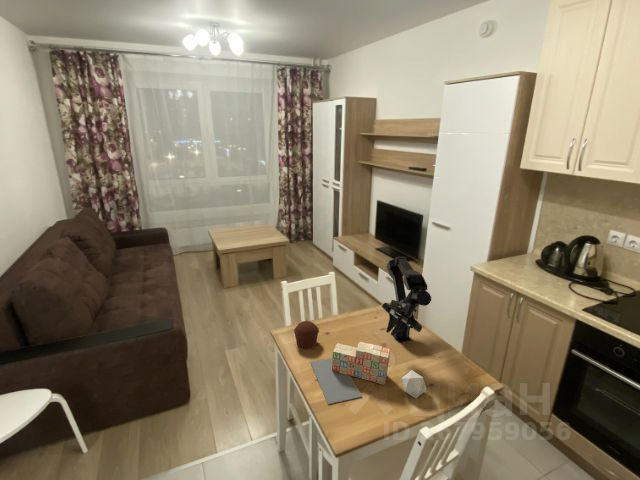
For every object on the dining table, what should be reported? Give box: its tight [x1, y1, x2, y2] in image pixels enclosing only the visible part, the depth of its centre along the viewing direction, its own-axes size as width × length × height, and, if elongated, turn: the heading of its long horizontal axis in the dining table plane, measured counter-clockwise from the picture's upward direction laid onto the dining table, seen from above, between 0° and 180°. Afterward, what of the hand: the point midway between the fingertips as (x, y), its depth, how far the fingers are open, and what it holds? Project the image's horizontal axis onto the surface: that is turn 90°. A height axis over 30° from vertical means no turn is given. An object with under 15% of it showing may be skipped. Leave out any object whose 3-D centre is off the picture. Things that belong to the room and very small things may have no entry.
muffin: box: [293, 320, 320, 349], centre depth 153 cm, size 12×11×10 cm
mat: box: [309, 357, 363, 406], centre depth 132 cm, size 13×24×1 cm, turn 17°
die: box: [400, 369, 428, 399], centre depth 124 cm, size 8×9×10 cm
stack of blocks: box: [332, 341, 391, 386], centre depth 133 cm, size 21×6×12 cm, turn 71°
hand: (389, 333), depth 138 cm, fingers open, 2 cm apart
